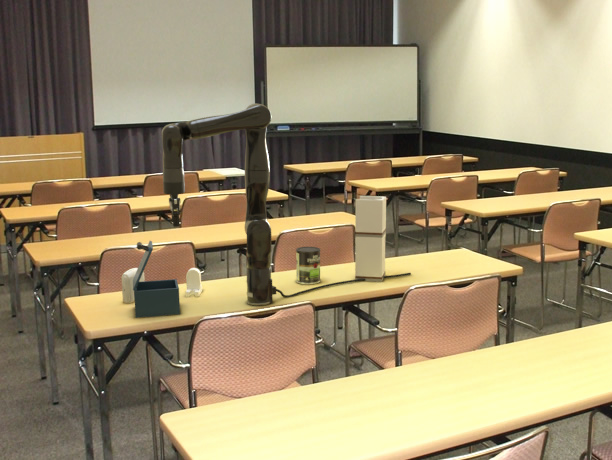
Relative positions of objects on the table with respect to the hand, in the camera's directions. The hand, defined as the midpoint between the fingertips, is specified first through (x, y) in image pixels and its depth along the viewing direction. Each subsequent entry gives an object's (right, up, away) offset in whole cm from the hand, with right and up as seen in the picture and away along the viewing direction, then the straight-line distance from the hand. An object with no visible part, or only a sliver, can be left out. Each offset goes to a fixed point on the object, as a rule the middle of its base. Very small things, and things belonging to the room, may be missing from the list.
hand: (175, 224), depth 275 cm
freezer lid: (-12, -15, -1) cm, 19 cm away
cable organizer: (+1, -28, +27) cm, 39 cm away
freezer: (-8, -32, +4) cm, 33 cm away
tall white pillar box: (+72, -23, +51) cm, 91 cm away
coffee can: (+45, -24, +45) cm, 69 cm away
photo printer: (-20, -29, +18) cm, 40 cm away
